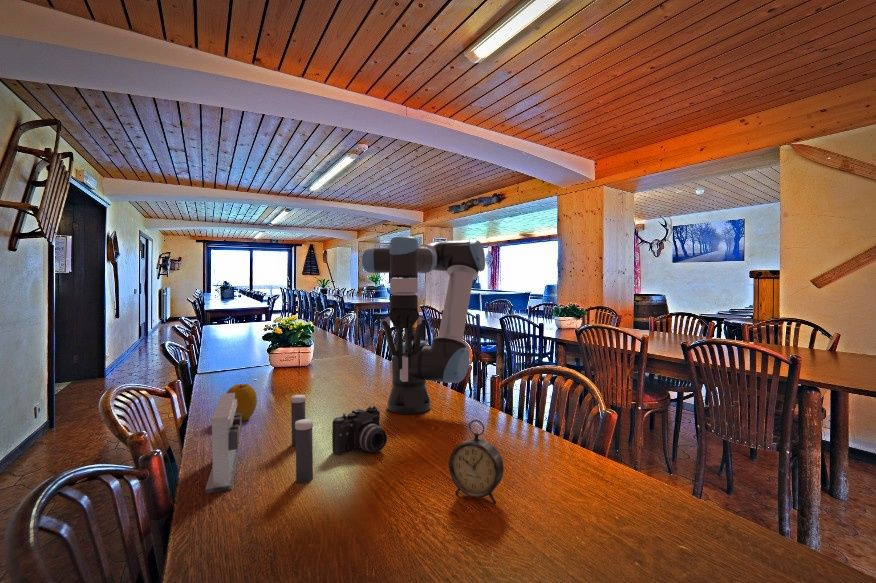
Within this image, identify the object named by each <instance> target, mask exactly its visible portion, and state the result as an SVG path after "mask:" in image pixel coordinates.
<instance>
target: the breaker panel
mask: <svg viewBox="0 0 876 583" xmlns="http://www.w3.org/2000/svg"><path fill="white" fill-rule="evenodd" d="M236 408H237V399H235V393H227V392H226V393H221V394H220V398H219V401H218V403H217V404H216V407H215V410H214V412H213V414H212V417H211V436H212V441H211V442H212V444H211V445H212V467H211V470H210V473H209V475H208V479H207V483H206V485H205V490H204V492H205V493H204V494H205V495H208V494H213V493H219V492H225V491H231V490H232V489H233V483H234V478H235V473H236V467H237V461H238V457H239V445H240V443H241V433H242V430H243V429H242V427H243V425H242V422H243V421H242V418H241V413H235V412H236Z"/></svg>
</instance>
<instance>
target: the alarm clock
mask: <svg viewBox="0 0 876 583" xmlns="http://www.w3.org/2000/svg"><path fill="white" fill-rule="evenodd" d="M474 422H477V423H479V424H480V425H481V426H482V431H481V432H480V433H478V432H473V431H472V428H471V425H472V423H474ZM468 429H469V431H470V432H471V434H473V436H474V437H473V438H469V439H466V440H464V441H463V442H461V443H460V444H458V445H457V446H455V448H454V449H453V450H452V451H451V453H450V456H449V458H448V459H449V460H448V470H449V475H450V478H451V480H452V481H453V483H454V485H455V486H456V488H457V489H456V490H455V491H454V493H455V494H456V495H459V492H460V491H461V492H462V493H463V494H465V495H466V496H469V497H472V498H484V497H486V496H489V498H490V500H491V501H492V503H493V504H494V505H495V504H497V501H496V499H495V497H494V494H493V492H494V490H495V489H496V488H497V486H498V485H499V484H500V483H501V481H502V479H503V476H504V471H505V470H504V469H505V468H504V462H503V457H502V456H501V454H500V452H499V450H498V449H497V448H496V447H495V446H494V445H493V444H492V443H491V442H489V441H488V440H486V439H483V438H481V437H479V436H482V435H483V434H484V432H485V426H484V424H483V422H482V421H480V420H478V419H472V420H471V421H470V422H469V424H468Z"/></svg>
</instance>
